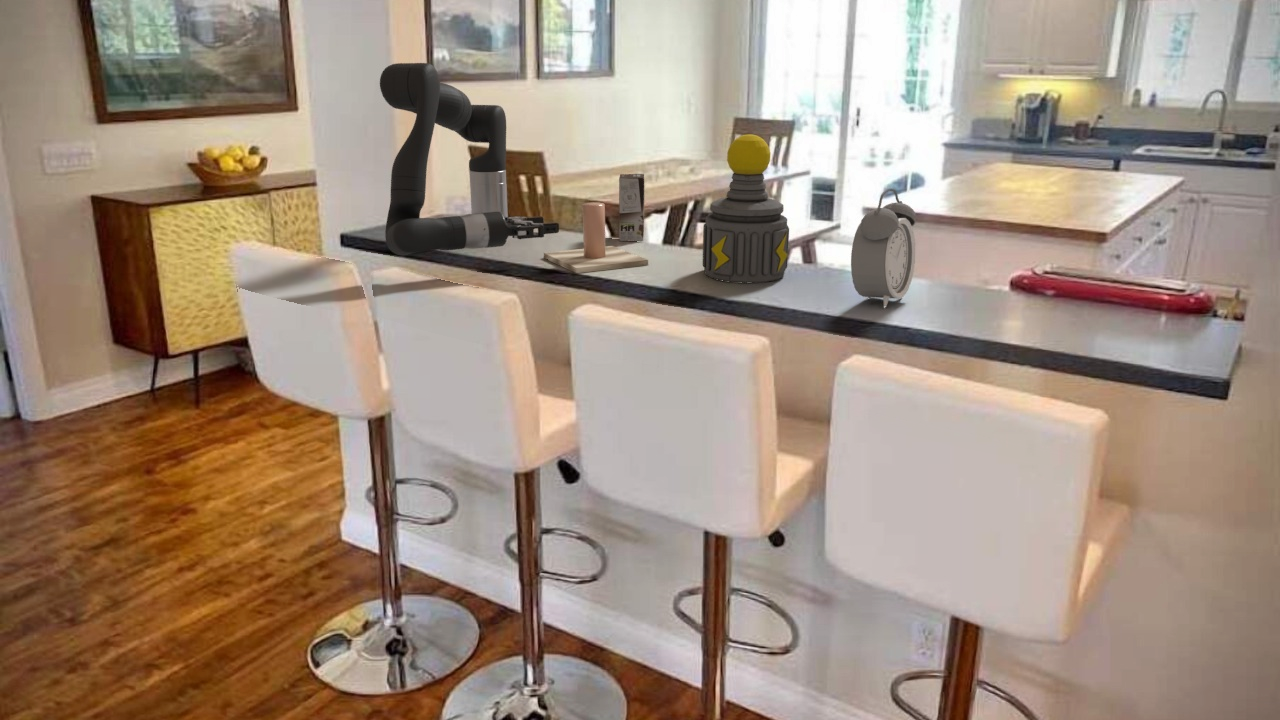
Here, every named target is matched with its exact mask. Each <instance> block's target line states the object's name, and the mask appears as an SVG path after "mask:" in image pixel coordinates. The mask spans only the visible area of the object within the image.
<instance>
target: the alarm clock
mask: <svg viewBox="0 0 1280 720" xmlns="http://www.w3.org/2000/svg"><path fill="white" fill-rule="evenodd" d="M888 192H893V193H894V196H895V201H896V202H891V203H888V204H885V205H884V206H883V207H882V203H883V199H884V196H885V195H886V194H887V193H888ZM877 205H878V206H877V208H874V209H872V210H870V211H869V212H866V213H865V215H864V216H863V218H861V221H860V223H859V224H858V226H857V228H856V230H855V233H854V237H853V242H852V247H851V253H850V255H851V256H850V268H851V269H850V271H851V279H852V283H853V287H854V288H855V291H856V292H857V294H858V295H859V296H861V297H863V298H867V299H868V298H870V299H871V298H880V299H882V298H883V307H884V306H886V307H887V306H888V303H889V300H890V299H895V300H896V299H900V298H902V299H903V298H904V296H905V295H906V294H907V293H908V291H909V289H910V286H911V283H912V280H913V276H914V272H915V270H914V269H915V265H916V264H915V263H916V239H915V233H914V229H913V226H914V225H915V224H916V222H917V218H916V217H917V216H916V211H915V210H914V209H913V207H911V206H910V205H909V204H906V203H903V201H902V200H900V199H899V195H898V192H897V190H896V189H894V188H887V189H886V190H884V191H883V192H882V193H881V195H880V197H879V201H878V204H877Z"/></svg>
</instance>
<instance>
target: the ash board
mask: <svg viewBox="0 0 1280 720" xmlns="http://www.w3.org/2000/svg"><path fill="white" fill-rule="evenodd" d="M605 253H606V256H605V257H604V258H597V259H591V258H585V257H584V248H579V249H578V248H577V249H569V250H567V249H566V250H559V251H550V252H543V259H545V260H547V259H548V260H547V261H550V262H552V263H554V264H556V265H558V266H560V267H563V268H565V270H566V269H567V270H569V271H571V272H573V273H575V274H582V273H589V272H592V273H593V272H598V271H599V272H600V271H607V270H616V269H624V268H625V269H626V268H633V267H642V266H649V259H648V258H645V257H642V256H640V255H636V254H634V253H632V252H629V251H627V250H624V249H621V248H619V247H616V246H614V245H605Z"/></svg>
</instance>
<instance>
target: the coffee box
mask: <svg viewBox="0 0 1280 720" xmlns="http://www.w3.org/2000/svg"><path fill="white" fill-rule="evenodd" d="M618 178H619V179H618V183H619V184H618V188H619V190H618V194H619V195H618V199H619V201H618V204H619V205H618V209H619V210H618V211H619V212H618V213H619V214H618V218H619V219H618V223H619V226H618V230H619V231H618V237H619V238H618V239H619V241H620V242H644V237H645V236H644V235H645V174H644V173H627V174H626V173H621V174H620V175H619V177H618Z"/></svg>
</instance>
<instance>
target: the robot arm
mask: <svg viewBox="0 0 1280 720" xmlns="http://www.w3.org/2000/svg"><path fill="white" fill-rule="evenodd" d="M379 89H380V92H381V94H382V97H383V99H384V100H385V102H386V103H387V104H388V105H389V106H391V107H392V108H394V109H396V110H401V111H407V112H411V113H413V114H416V117H415V120H414V124H413V127H412V129H411V130H410V133H409V135H408V136H407V138H406V140H405V141H404V143H403V145H402V146H401V148H399V149H400V150H399V151H398V152H397V154H396V156H395V158H394V161H393V164H392V168H391V174H390V175H391V176H390V177H391V179H390V203H389V208H388V212H387V219H386V223H385V224H386V225H385V235H384V237H385V243H386V246H387V248H388V249H389V251H391V252H392V253H393V254H394V255H398V256H409V255H411V254H415V253H420V252H428V251H437V250H440V251H454V250H476V249H486V248H487V249H488V248H496V247H497V248H498V247H503V246H505V244H506V243H507V240H508V238H509V237H512V238H513V239H517V240H524V239H534V238H535V239H536V238H544V237H545V235H548V234H549V235H550V234H558V233H559V231H560V224H559V223H558V222H547V223H545V222H544V217H543V216H531V217H526V216H520V215H515V216H514V215H512V216H509V215H508V211H509V210H508V190H507V166H506V165H507V116H506V112H505V110H504V108H503V107H502V106H500V105H496V104H472V103H471V100H470V99H469V97H468V96H467V94H466V93H465V92H463V91H461V90H460V89H458V88H456V87H455V86H453V85H451V84H448V83H443V82H440V77H439V74H438V71H437V70H436V67H434V65H432V64H430V63H428V62H409V63H408V62H407V63H406V62H404V63H403V62H400V63H399V62H398V63H393V64H391V65H388V66H387V67H385V68H384V69H383V71H382V72H381V74H380V78H379ZM435 124H436V125H438V126H440V127H443V128H445V129H448V130H449V131H453V132H455V133H456V134H457V135H459V136H460V137H461V138H462V139H464V140H466V141H468V142H471V143H480V144H481V143H482V144H483V143H484V144H485V143H487V144H488V148H487V150H486V151H485V152H484V153H482V154H479V155H476V156H474V157H472V158H470V159H469V160H468V172H469V188H470V190H469V191H470V193H469V194H470V211H471V212H470V213H468V214H462V215H455V216H454V215H452V216H443V217H442V216H441V217H438V218H433V217H432V218H429V217H421V216H420V215H421V211H422V208H423V207H424V205H425V201H426V189H427V187H426V186H427V185H426V184H427V167H428V161H429V153H430V149H431V148H430V147H431V143H432V139H433V135H434V129H435ZM535 229H536V230H537V232H536V231H534V230H535Z"/></svg>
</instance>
